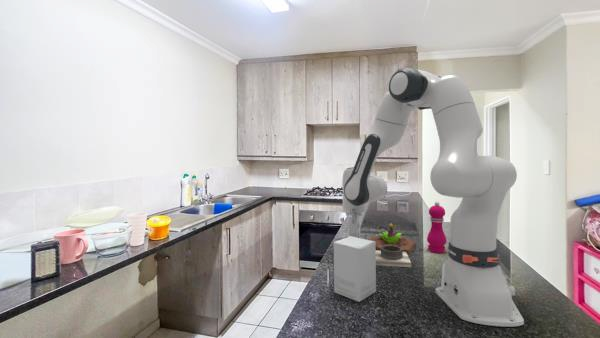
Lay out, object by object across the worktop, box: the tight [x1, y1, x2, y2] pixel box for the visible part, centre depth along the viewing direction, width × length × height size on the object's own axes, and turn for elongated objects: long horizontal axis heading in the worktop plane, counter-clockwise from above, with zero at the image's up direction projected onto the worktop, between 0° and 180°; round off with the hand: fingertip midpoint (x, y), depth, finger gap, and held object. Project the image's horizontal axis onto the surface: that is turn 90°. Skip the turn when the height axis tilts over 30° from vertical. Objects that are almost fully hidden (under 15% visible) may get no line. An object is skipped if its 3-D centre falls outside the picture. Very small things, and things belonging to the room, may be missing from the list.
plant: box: [367, 222, 417, 256], centre depth 128 cm, size 20×20×11 cm
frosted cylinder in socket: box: [347, 221, 360, 238], centre depth 123 cm, size 5×5×12 cm
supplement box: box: [333, 236, 377, 303], centre depth 88 cm, size 9×9×15 cm
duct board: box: [376, 245, 412, 268], centre depth 113 cm, size 12×12×4 cm
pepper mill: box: [426, 201, 448, 254], centre depth 122 cm, size 7×7×20 cm
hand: (353, 240), depth 123 cm, fingers open, 7 cm apart
